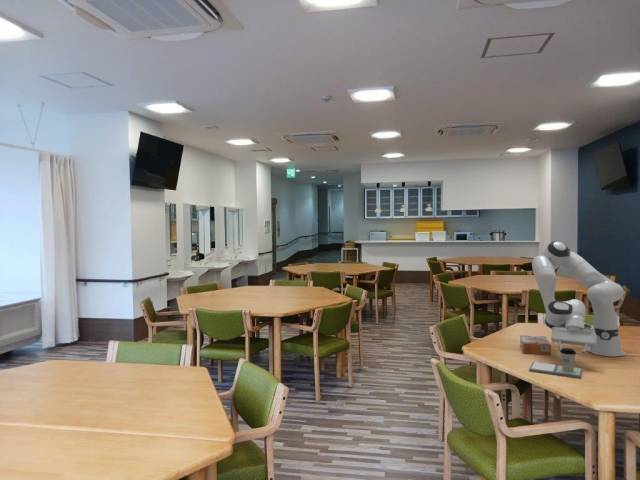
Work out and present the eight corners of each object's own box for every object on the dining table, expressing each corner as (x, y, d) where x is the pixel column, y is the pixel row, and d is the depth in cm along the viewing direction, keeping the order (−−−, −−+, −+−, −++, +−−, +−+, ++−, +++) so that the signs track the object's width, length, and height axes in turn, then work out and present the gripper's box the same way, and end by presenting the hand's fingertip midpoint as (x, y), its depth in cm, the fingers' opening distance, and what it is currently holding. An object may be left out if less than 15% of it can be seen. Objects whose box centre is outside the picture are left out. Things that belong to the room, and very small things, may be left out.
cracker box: (523, 342, 252) (519, 334, 271) (523, 353, 252) (519, 344, 271) (551, 344, 247) (545, 336, 267) (551, 355, 247) (545, 346, 267)
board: (533, 363, 232) (533, 361, 232) (582, 370, 220) (582, 368, 220) (529, 371, 221) (529, 368, 220) (581, 378, 209) (581, 376, 209)
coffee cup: (570, 367, 221) (570, 347, 221) (579, 372, 214) (579, 351, 214) (556, 368, 221) (556, 347, 221) (565, 372, 214) (565, 351, 214)
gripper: (551, 322, 236) (548, 344, 228) (597, 326, 224) (595, 350, 216) (552, 328, 239) (549, 351, 232) (598, 333, 228) (596, 357, 220)
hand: (572, 351), depth 224 cm, fingers open, 8 cm apart
